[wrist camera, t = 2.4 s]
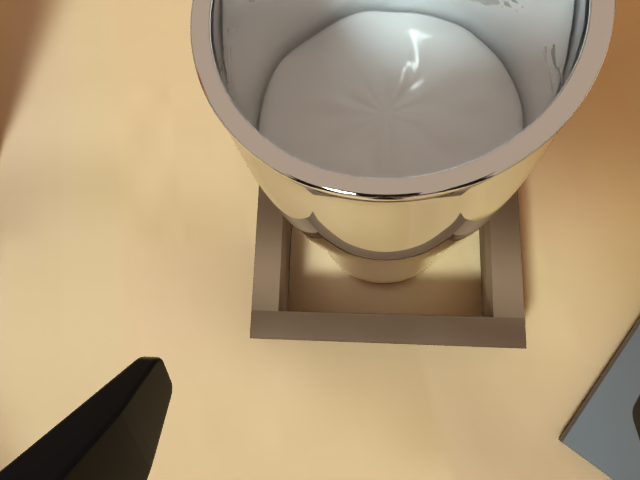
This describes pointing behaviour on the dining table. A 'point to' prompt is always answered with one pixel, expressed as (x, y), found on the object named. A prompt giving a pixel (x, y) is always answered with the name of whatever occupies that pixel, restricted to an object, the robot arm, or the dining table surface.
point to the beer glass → (395, 111)
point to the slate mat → (611, 416)
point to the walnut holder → (488, 331)
